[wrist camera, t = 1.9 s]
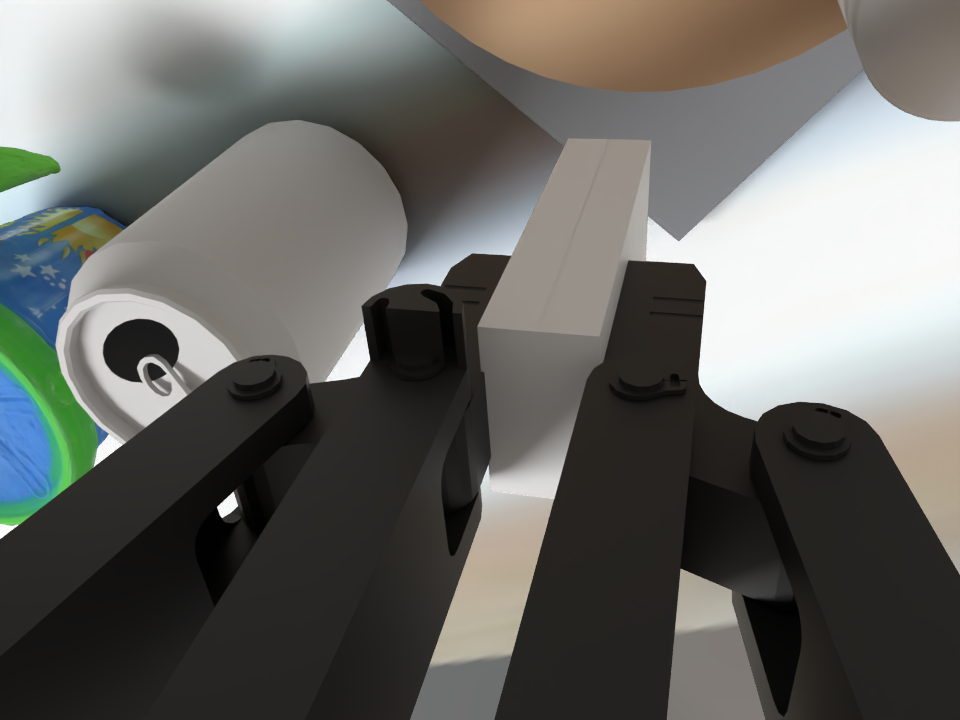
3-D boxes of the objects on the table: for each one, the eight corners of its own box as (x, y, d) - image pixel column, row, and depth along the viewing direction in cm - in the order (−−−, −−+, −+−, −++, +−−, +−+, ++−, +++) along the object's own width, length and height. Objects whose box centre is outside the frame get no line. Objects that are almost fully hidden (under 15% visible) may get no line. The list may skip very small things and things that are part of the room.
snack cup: (-14, 64, 33) (-258, 165, 25) (237, 168, 33) (74, 303, 25) (5, 360, 43) (-167, 502, 34) (199, 440, 42) (73, 602, 34)
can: (324, 70, 30) (129, 220, 20) (454, 237, 32) (335, 440, 23) (195, 177, 34) (-19, 345, 24) (320, 319, 36) (171, 521, 27)
